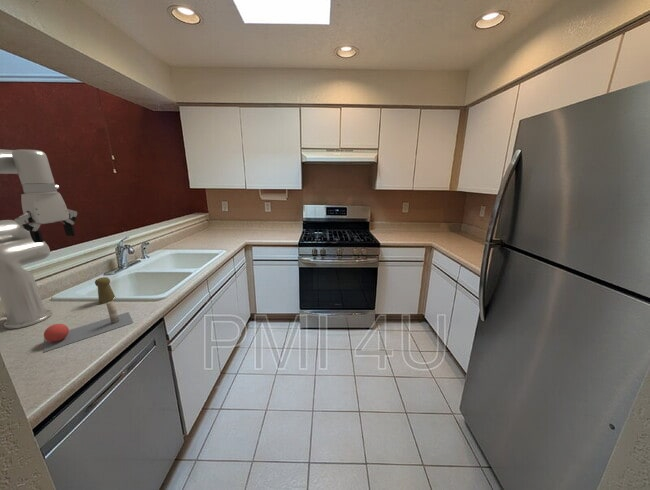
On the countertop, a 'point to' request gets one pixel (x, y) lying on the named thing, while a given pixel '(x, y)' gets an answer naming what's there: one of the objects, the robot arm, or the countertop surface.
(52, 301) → the countertop surface
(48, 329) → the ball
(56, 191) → the robot arm
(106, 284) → the cork
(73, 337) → the plate
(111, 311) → the pin
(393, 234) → the countertop surface
